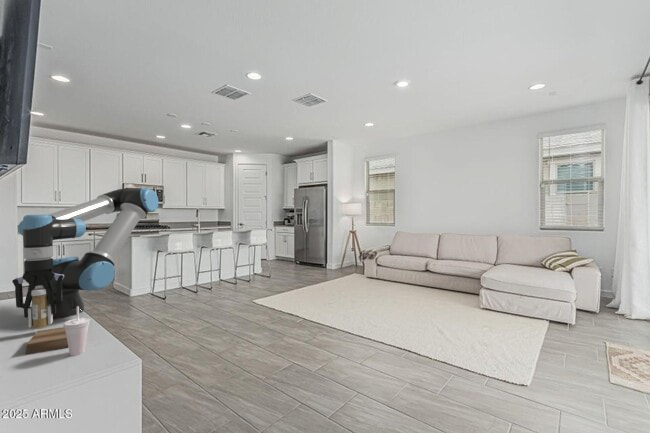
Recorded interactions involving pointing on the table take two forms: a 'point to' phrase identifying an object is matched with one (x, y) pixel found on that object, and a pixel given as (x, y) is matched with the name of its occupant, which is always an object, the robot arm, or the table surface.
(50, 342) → the walnut base
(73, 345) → the smoothie
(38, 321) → the sprinkles bottle
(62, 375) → the table surface
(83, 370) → the table surface
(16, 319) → the table surface
